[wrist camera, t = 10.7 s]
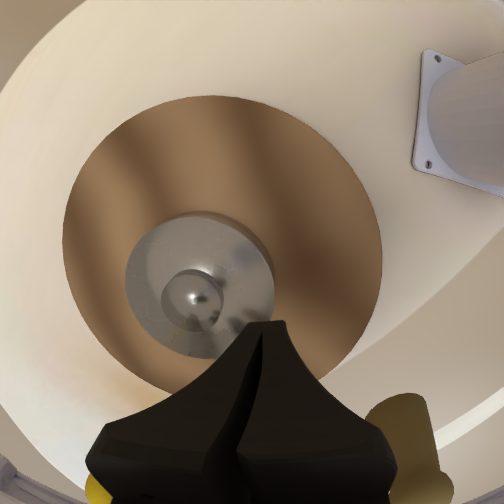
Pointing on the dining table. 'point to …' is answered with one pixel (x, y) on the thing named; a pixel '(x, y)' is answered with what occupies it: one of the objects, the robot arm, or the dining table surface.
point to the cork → (412, 451)
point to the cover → (199, 282)
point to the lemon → (96, 492)
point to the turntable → (235, 206)
